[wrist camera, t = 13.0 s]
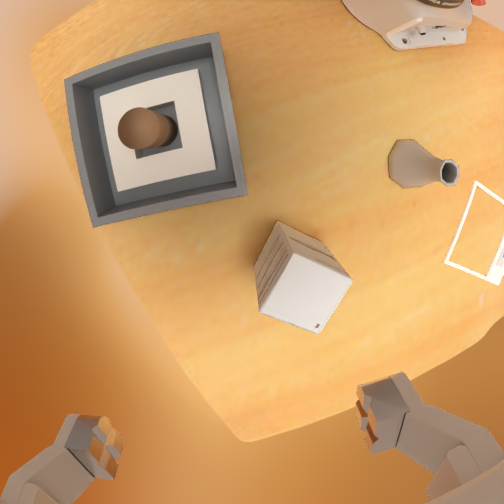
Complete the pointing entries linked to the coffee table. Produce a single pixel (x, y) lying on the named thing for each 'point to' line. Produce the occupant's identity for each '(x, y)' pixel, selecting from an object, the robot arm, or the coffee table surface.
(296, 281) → the supplement box
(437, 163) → the flask
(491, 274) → the photo frame
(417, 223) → the coffee table surface
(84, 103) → the bin
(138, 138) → the peg
